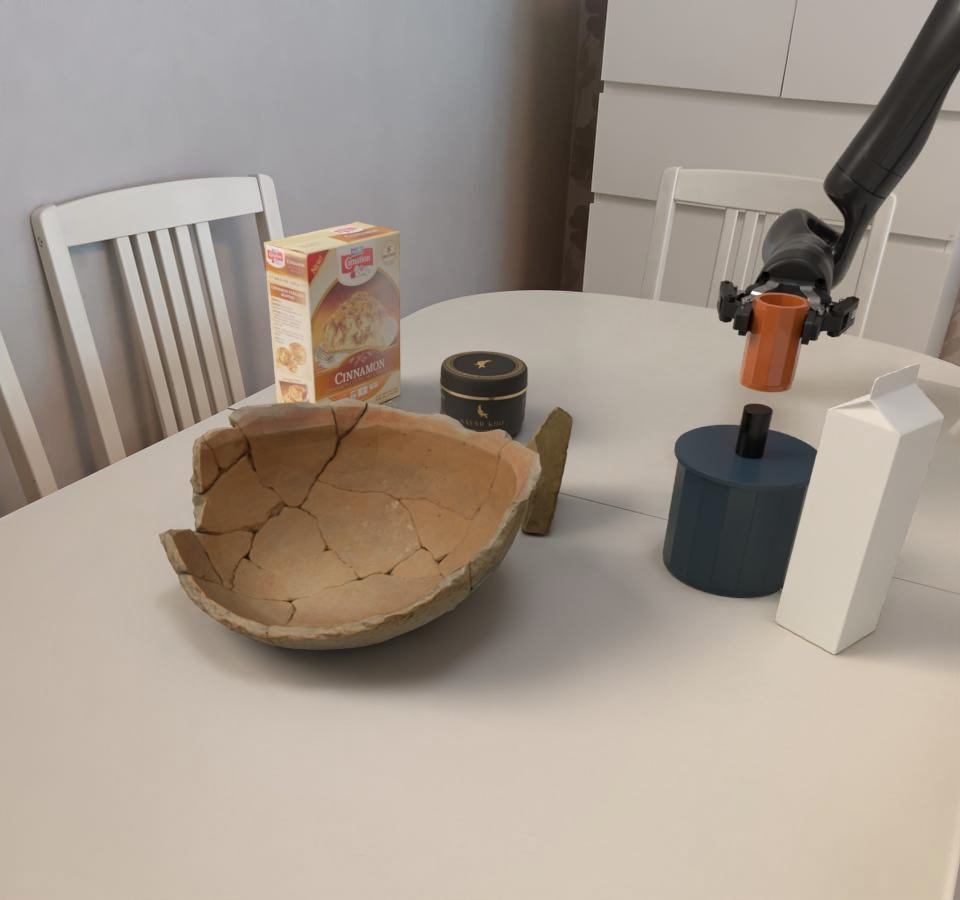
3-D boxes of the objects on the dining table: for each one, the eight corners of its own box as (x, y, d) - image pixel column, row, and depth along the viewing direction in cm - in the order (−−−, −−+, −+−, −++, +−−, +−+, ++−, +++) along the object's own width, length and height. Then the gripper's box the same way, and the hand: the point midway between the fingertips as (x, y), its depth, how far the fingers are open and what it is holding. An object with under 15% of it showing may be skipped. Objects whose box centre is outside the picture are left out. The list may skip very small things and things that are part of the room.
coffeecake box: (318, 430, 111) (307, 252, 100) (275, 414, 114) (259, 240, 103) (404, 395, 121) (402, 229, 110) (361, 381, 124) (356, 219, 113)
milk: (773, 623, 81) (835, 366, 69) (815, 599, 85) (882, 350, 72) (836, 656, 78) (913, 391, 65) (877, 630, 81) (959, 373, 68)
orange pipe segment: (766, 371, 98) (783, 290, 93) (802, 387, 94) (821, 304, 89) (728, 378, 96) (743, 296, 91) (763, 395, 92) (781, 310, 87)
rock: (573, 527, 89) (610, 473, 96) (522, 450, 86) (564, 400, 93) (489, 560, 96) (530, 508, 103) (440, 490, 94) (485, 441, 100)
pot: (731, 523, 96) (752, 423, 90) (817, 579, 87) (847, 472, 81) (637, 549, 91) (652, 444, 85) (719, 610, 83) (742, 499, 77)
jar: (439, 444, 109) (439, 378, 104) (439, 411, 117) (440, 348, 113) (527, 446, 109) (532, 380, 105) (521, 412, 117) (525, 350, 113)
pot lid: (751, 426, 91) (762, 373, 88) (853, 480, 82) (870, 423, 79) (643, 450, 85) (651, 394, 82) (740, 510, 76) (753, 450, 73)
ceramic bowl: (106, 650, 72) (89, 451, 65) (236, 535, 96) (233, 383, 90) (506, 706, 69) (529, 505, 63) (535, 574, 94) (553, 420, 88)
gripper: (731, 239, 102) (704, 278, 89) (873, 255, 98) (866, 298, 85) (719, 311, 106) (691, 358, 93) (855, 329, 103) (845, 381, 89)
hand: (775, 329), depth 89 cm, fingers closed on orange pipe segment, 5 cm apart
